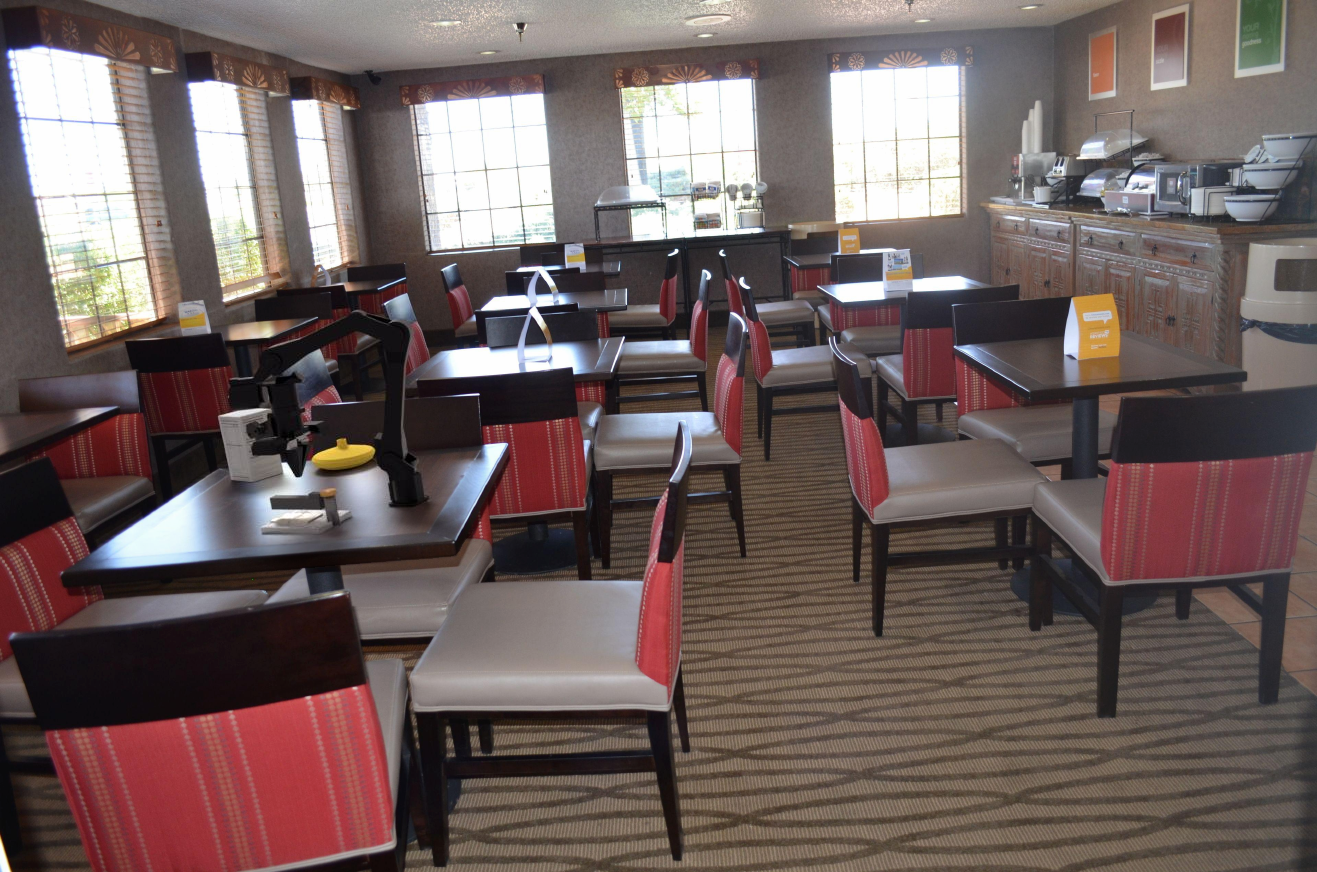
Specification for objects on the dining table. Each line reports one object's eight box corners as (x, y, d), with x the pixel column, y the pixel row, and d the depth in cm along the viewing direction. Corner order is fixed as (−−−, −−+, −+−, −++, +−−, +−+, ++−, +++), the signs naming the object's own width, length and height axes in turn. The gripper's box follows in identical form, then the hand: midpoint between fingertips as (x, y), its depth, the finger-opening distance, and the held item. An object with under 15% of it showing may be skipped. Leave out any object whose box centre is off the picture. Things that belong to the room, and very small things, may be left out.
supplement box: (284, 472, 243) (272, 408, 239) (253, 483, 236) (239, 416, 232) (261, 470, 249) (249, 407, 245) (229, 480, 241) (216, 415, 237)
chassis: (354, 515, 200) (349, 487, 199) (322, 533, 190) (317, 504, 189) (295, 515, 205) (290, 487, 203) (261, 532, 195) (255, 504, 193)
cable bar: (342, 506, 196) (339, 488, 195) (333, 511, 193) (330, 493, 192) (279, 505, 200) (276, 488, 200) (269, 510, 197) (266, 492, 197)
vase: (366, 472, 237) (361, 444, 235) (304, 477, 237) (299, 449, 236) (385, 456, 252) (381, 430, 250) (326, 460, 253) (321, 435, 251)
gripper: (282, 397, 210) (295, 465, 214) (222, 416, 193) (237, 490, 196) (325, 395, 207) (337, 464, 210) (267, 415, 190) (282, 490, 193)
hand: (298, 477), depth 203 cm, fingers closed
